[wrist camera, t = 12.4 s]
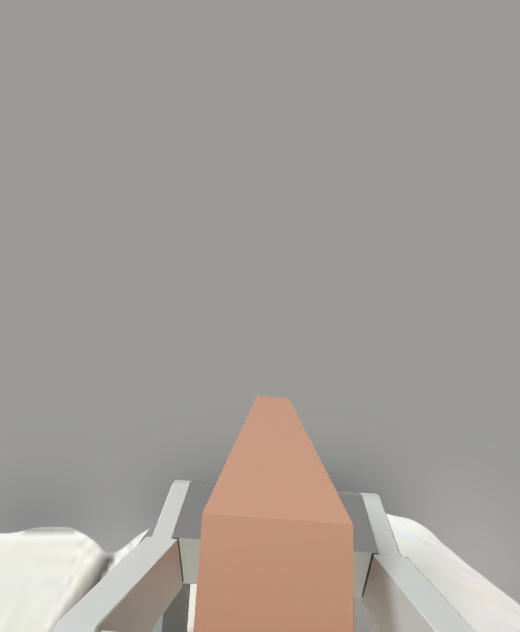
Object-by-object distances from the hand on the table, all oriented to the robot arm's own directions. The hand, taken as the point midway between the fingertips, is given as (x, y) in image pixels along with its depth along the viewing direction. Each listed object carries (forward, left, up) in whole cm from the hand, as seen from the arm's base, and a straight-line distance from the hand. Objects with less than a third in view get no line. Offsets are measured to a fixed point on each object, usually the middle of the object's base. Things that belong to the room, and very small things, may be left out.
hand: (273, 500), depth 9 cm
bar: (0, -8, -2) cm, 8 cm away
